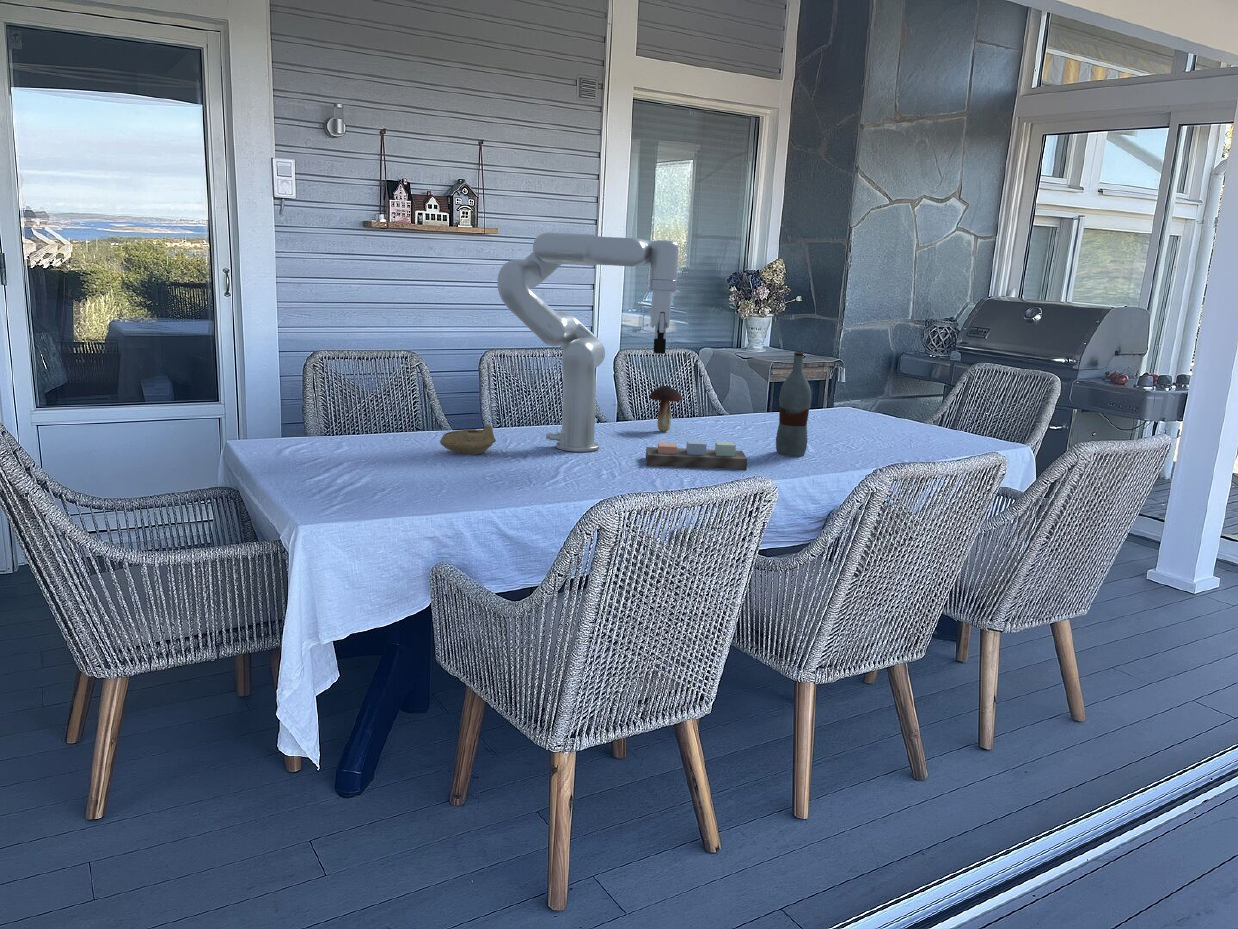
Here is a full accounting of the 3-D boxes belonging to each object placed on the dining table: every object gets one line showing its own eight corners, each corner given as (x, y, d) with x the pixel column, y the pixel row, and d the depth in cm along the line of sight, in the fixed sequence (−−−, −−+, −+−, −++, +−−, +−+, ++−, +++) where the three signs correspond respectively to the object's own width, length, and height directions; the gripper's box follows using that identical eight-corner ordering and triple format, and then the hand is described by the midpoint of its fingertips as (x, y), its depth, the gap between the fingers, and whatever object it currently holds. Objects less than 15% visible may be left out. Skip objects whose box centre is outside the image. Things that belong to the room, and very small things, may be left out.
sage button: (716, 460, 264) (717, 444, 264) (714, 457, 269) (715, 441, 268) (734, 461, 265) (735, 445, 264) (732, 457, 269) (733, 441, 268)
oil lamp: (434, 451, 268) (434, 423, 266) (484, 447, 276) (484, 420, 275) (450, 459, 259) (450, 430, 257) (501, 455, 267) (501, 426, 266)
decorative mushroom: (648, 427, 319) (651, 382, 316) (682, 429, 317) (684, 384, 314) (645, 433, 308) (647, 386, 305) (679, 435, 307) (682, 388, 304)
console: (647, 465, 261) (647, 455, 261) (645, 457, 272) (646, 446, 272) (746, 469, 262) (747, 458, 261) (741, 461, 273) (742, 450, 272)
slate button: (687, 459, 264) (688, 443, 263) (685, 455, 269) (686, 440, 268) (705, 460, 264) (706, 444, 263) (703, 456, 269) (704, 440, 268)
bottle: (768, 452, 286) (776, 351, 280) (785, 449, 293) (793, 350, 286) (795, 458, 280) (804, 354, 273) (812, 454, 287) (821, 353, 280)
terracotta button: (658, 462, 264) (658, 446, 263) (657, 458, 269) (657, 442, 268) (676, 463, 264) (677, 446, 264) (674, 459, 269) (675, 443, 268)
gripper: (647, 284, 273) (644, 350, 277) (650, 286, 258) (646, 355, 262) (674, 286, 273) (670, 351, 277) (678, 288, 258) (674, 356, 262)
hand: (659, 353), depth 269 cm, fingers closed
